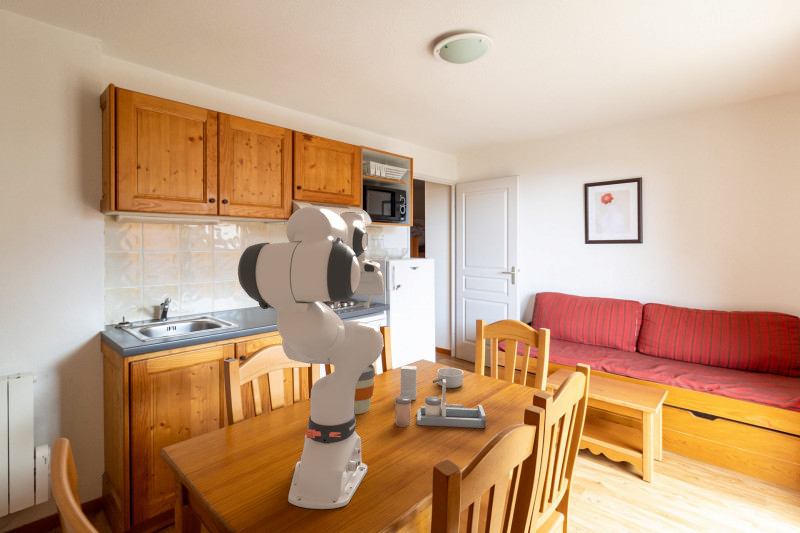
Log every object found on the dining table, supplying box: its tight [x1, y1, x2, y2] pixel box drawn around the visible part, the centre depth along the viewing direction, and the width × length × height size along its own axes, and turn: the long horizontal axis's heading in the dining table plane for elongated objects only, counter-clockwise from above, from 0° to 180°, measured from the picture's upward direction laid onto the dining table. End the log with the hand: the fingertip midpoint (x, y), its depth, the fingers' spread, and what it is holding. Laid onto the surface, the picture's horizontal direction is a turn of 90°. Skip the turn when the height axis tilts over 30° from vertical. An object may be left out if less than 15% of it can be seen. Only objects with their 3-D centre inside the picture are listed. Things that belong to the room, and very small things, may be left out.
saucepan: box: [432, 367, 465, 389], centre depth 160 cm, size 12×20×6 cm, turn 146°
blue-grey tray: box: [416, 404, 487, 429], centre depth 129 cm, size 9×22×4 cm, turn 86°
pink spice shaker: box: [394, 395, 412, 428], centre depth 126 cm, size 5×5×8 cm
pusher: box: [440, 379, 464, 417], centre depth 129 cm, size 6×7×13 cm
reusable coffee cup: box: [354, 364, 376, 415], centre depth 137 cm, size 13×12×15 cm
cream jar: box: [424, 395, 442, 417], centre depth 130 cm, size 5×5×7 cm
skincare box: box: [400, 365, 418, 401], centre depth 148 cm, size 6×4×12 cm
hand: (352, 307), depth 121 cm, fingers open, 8 cm apart
